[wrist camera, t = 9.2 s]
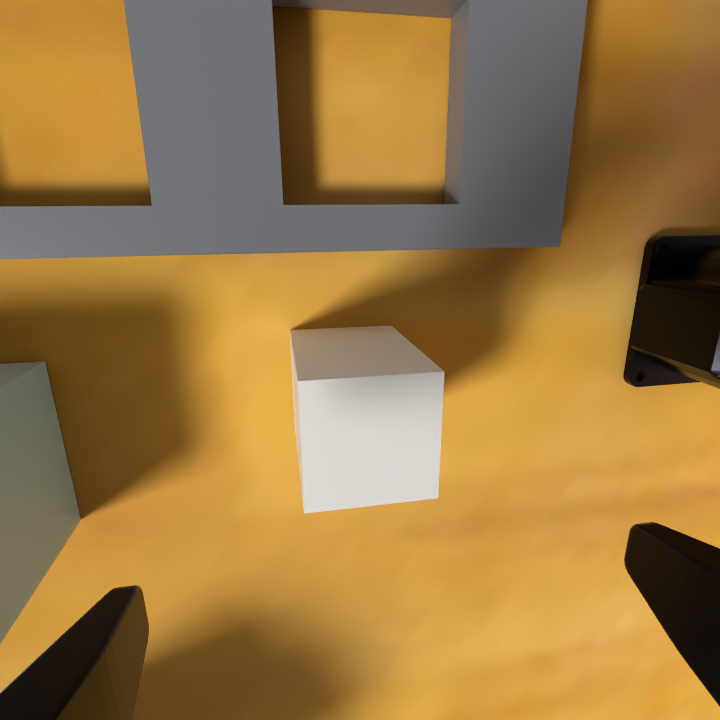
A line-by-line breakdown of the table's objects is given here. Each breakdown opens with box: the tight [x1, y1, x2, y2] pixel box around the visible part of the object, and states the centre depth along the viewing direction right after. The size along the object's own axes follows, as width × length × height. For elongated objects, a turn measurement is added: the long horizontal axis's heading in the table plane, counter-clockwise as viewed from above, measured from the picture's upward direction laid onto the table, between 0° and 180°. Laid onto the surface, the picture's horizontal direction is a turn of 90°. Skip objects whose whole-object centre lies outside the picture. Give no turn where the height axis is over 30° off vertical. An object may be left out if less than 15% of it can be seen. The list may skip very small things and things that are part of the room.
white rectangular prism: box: [290, 325, 444, 513], centre depth 16 cm, size 4×4×6 cm
